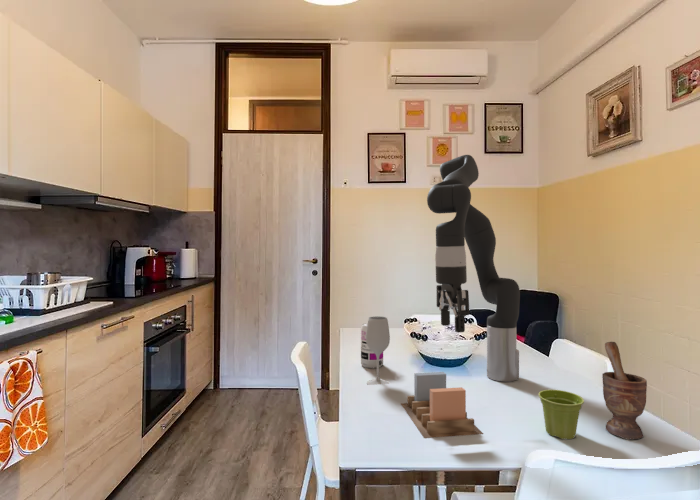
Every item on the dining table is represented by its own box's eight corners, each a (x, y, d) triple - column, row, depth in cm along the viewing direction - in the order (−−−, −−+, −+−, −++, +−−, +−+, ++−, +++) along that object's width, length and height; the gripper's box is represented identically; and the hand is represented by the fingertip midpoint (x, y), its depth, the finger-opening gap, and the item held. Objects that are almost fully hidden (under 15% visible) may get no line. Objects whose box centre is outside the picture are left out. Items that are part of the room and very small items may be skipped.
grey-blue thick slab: (443, 405, 108) (443, 371, 108) (446, 408, 106) (446, 374, 106) (414, 407, 107) (414, 373, 107) (416, 410, 105) (416, 375, 105)
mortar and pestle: (584, 420, 101) (584, 341, 101) (613, 418, 103) (614, 339, 103) (623, 442, 90) (623, 352, 90) (656, 439, 92) (656, 351, 91)
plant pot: (593, 442, 90) (593, 403, 90) (553, 444, 89) (553, 405, 89) (567, 424, 99) (567, 389, 99) (530, 425, 99) (530, 390, 99)
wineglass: (388, 388, 125) (388, 320, 125) (364, 386, 126) (364, 319, 126) (391, 380, 132) (390, 316, 132) (368, 379, 134) (367, 315, 133)
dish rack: (449, 405, 112) (449, 391, 111) (483, 439, 92) (483, 422, 92) (400, 407, 110) (400, 393, 110) (424, 443, 90) (424, 426, 90)
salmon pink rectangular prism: (462, 425, 96) (462, 387, 96) (465, 428, 94) (465, 390, 94) (429, 427, 95) (429, 389, 95) (432, 431, 93) (432, 392, 93)
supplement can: (385, 363, 152) (385, 323, 152) (379, 369, 144) (379, 327, 144) (364, 361, 154) (364, 322, 154) (358, 367, 147) (358, 326, 147)
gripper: (478, 265, 96) (480, 333, 96) (452, 262, 110) (454, 322, 110) (448, 266, 94) (450, 335, 95) (426, 263, 108) (428, 324, 109)
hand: (452, 328), depth 102 cm, fingers open, 8 cm apart
